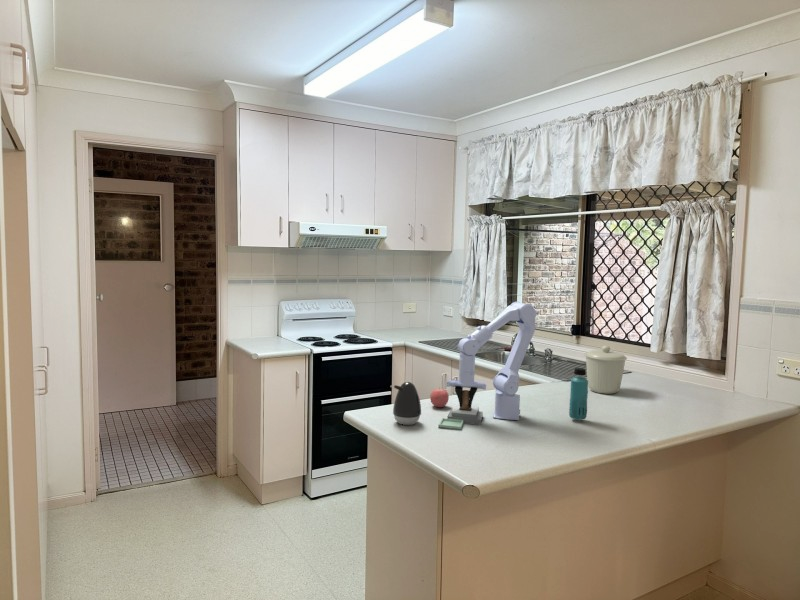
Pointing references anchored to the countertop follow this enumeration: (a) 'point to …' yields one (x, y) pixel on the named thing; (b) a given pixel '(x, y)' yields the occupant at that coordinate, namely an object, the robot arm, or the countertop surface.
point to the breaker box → (466, 414)
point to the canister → (604, 370)
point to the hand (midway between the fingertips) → (465, 406)
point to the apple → (439, 397)
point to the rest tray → (451, 424)
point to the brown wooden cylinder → (465, 400)
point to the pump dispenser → (407, 404)
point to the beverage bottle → (578, 395)
